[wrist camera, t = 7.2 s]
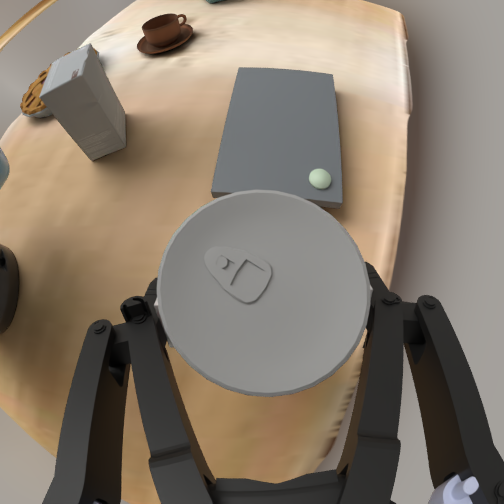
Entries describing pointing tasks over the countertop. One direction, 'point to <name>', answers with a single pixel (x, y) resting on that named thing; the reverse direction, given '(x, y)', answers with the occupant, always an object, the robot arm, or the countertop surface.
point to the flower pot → (212, 0)
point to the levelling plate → (281, 136)
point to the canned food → (263, 293)
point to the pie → (37, 97)
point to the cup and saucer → (164, 34)
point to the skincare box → (85, 103)
